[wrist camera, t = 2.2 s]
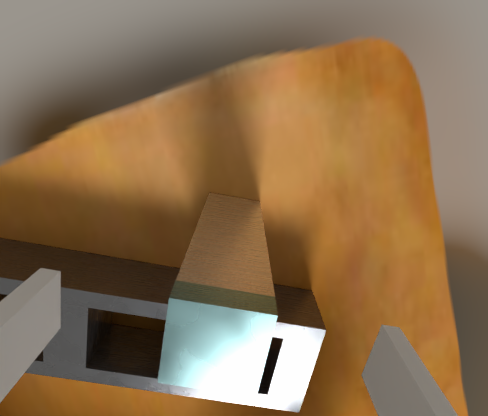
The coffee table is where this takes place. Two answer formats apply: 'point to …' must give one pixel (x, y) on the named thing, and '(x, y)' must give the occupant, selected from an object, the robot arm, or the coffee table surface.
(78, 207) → the coffee table surface
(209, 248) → the square peg
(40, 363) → the rack rail
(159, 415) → the coffee table surface
